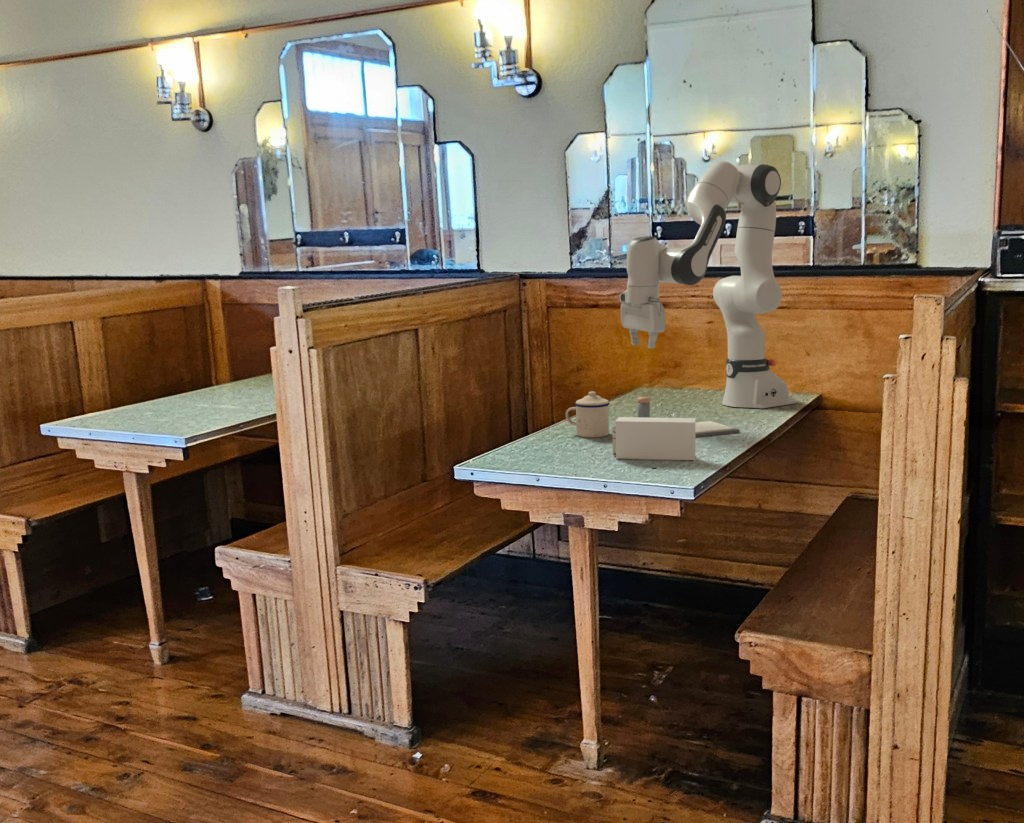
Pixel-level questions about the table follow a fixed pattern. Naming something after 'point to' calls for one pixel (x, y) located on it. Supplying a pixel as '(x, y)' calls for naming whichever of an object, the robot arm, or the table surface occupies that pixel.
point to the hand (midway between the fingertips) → (643, 346)
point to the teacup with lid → (591, 416)
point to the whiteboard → (713, 429)
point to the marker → (643, 407)
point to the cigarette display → (654, 438)
